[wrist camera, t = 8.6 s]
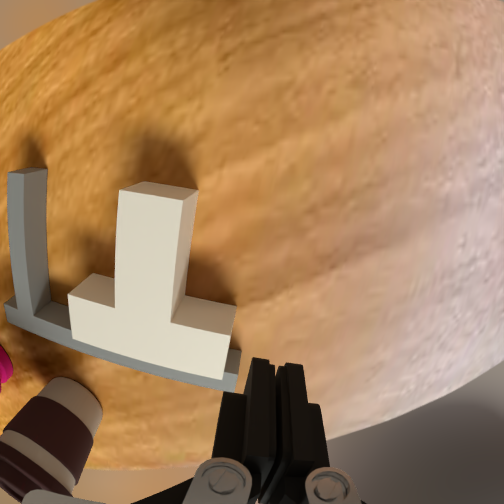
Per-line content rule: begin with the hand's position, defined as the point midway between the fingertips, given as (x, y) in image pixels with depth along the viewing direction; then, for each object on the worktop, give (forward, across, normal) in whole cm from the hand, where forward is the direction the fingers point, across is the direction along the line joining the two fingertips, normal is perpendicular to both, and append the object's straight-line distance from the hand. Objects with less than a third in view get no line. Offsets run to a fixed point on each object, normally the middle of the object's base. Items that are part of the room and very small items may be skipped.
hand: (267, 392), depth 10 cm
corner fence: (+13, +11, +3) cm, 18 cm away
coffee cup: (+14, +18, +21) cm, 31 cm away
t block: (+13, +8, +2) cm, 15 cm away
